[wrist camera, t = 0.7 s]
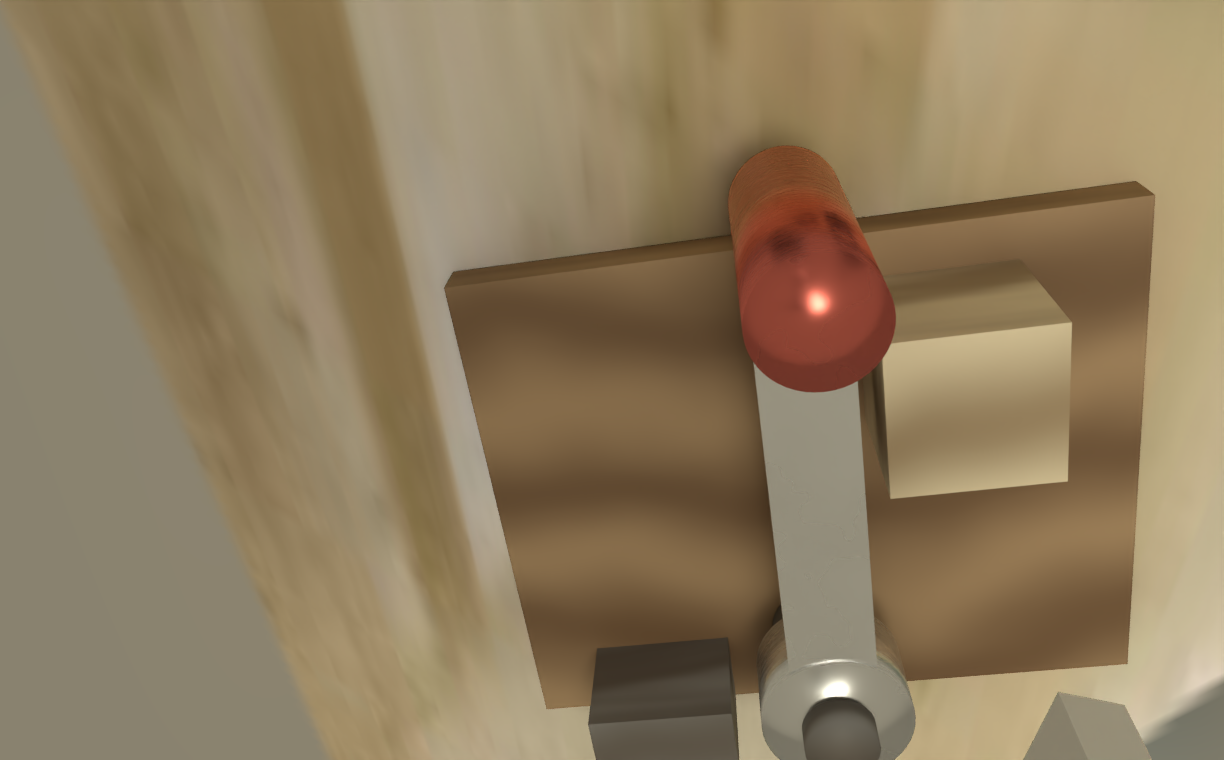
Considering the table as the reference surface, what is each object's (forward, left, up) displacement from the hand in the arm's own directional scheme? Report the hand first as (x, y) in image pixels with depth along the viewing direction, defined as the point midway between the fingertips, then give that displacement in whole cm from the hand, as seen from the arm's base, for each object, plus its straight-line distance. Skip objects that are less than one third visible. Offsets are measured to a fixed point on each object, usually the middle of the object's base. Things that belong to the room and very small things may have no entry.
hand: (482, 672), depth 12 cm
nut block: (+7, +10, -23) cm, 26 cm away
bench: (+12, +5, -24) cm, 28 cm away
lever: (+10, +5, -21) cm, 24 cm away
